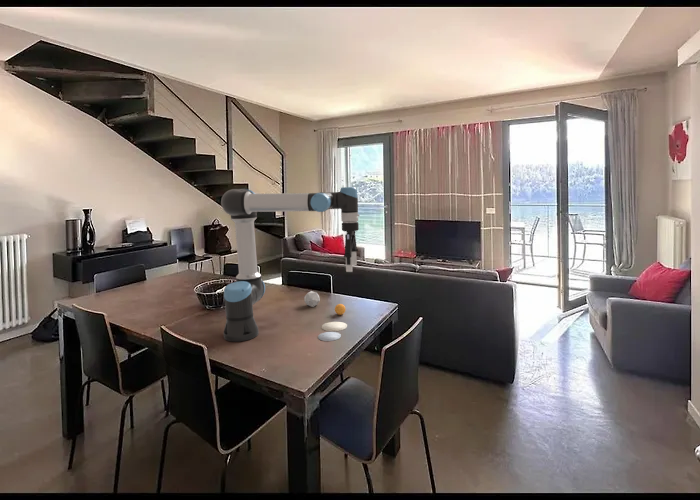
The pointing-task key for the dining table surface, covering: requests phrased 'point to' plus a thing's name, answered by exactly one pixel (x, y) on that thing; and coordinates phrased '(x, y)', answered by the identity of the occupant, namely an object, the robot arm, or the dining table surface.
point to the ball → (340, 309)
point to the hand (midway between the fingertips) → (351, 268)
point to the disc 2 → (329, 336)
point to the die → (311, 298)
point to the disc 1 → (334, 326)
